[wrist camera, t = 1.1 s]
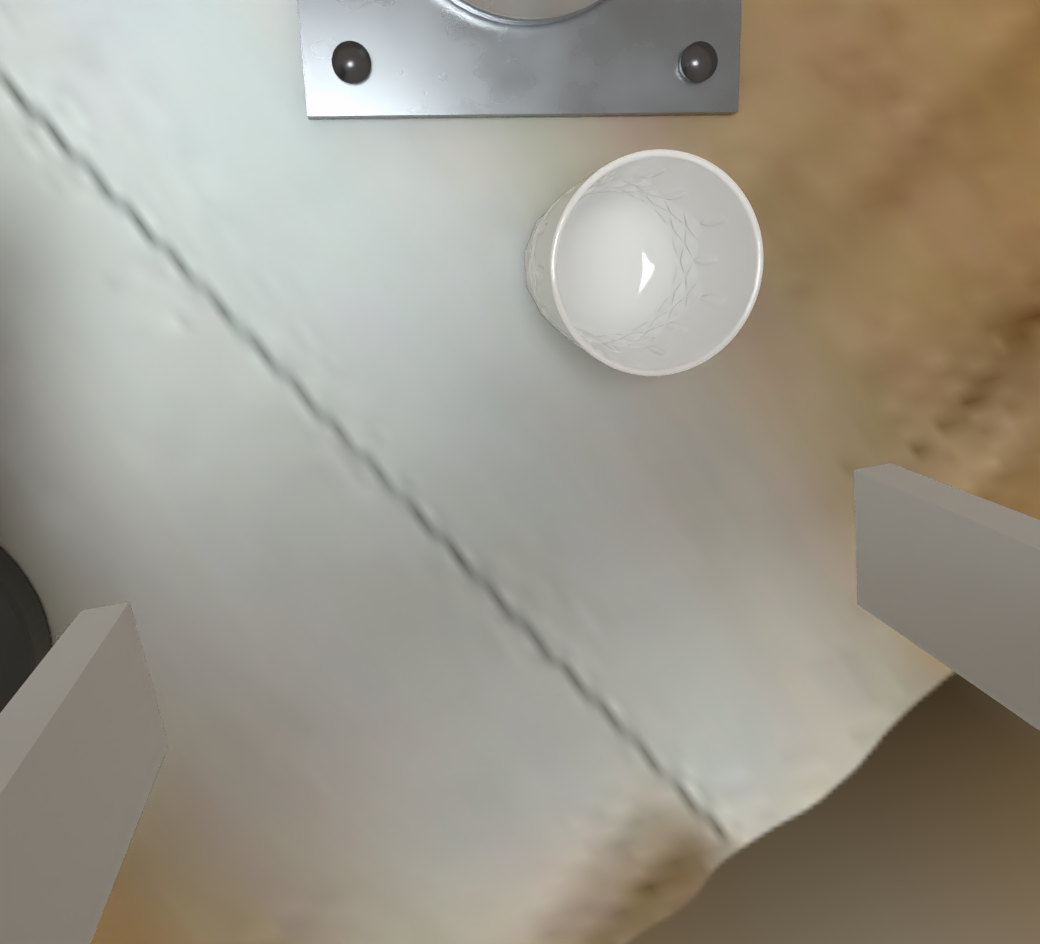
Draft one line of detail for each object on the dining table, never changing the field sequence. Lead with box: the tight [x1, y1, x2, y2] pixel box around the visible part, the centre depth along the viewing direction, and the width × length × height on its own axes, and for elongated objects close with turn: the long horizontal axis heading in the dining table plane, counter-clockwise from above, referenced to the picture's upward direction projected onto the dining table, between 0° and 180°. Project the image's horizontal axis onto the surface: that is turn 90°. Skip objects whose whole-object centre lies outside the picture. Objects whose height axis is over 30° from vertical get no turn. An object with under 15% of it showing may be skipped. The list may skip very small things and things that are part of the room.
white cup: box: [525, 149, 763, 376], centre depth 35 cm, size 8×8×10 cm
